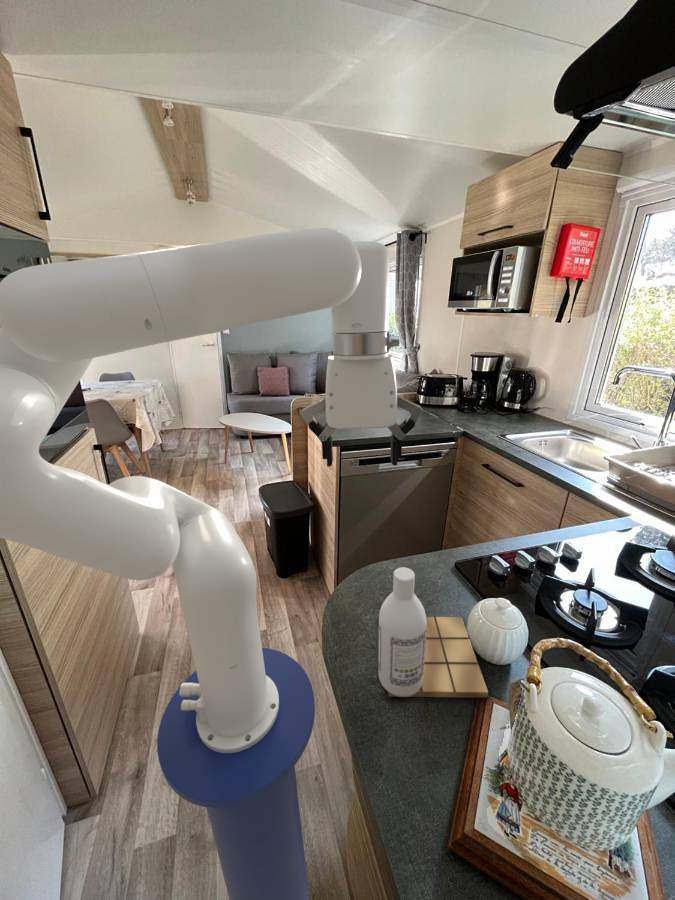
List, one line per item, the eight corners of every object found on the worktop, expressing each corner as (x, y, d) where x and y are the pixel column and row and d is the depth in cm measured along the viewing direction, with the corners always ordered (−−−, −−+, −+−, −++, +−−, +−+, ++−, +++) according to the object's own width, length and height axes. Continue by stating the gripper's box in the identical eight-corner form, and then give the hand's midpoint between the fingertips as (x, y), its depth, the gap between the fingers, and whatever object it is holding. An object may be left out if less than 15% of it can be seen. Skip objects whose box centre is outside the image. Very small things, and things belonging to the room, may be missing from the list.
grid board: (388, 696, 58) (388, 690, 58) (381, 621, 72) (381, 616, 72) (487, 697, 58) (488, 691, 57) (461, 621, 72) (461, 616, 71)
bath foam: (432, 681, 59) (440, 576, 52) (399, 707, 55) (403, 598, 48) (401, 651, 64) (404, 552, 57) (369, 673, 61) (369, 570, 54)
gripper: (420, 341, 55) (415, 452, 61) (300, 345, 55) (307, 454, 61) (430, 346, 48) (423, 471, 54) (293, 350, 48) (301, 473, 54)
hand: (361, 462), depth 57 cm, fingers open, 9 cm apart
